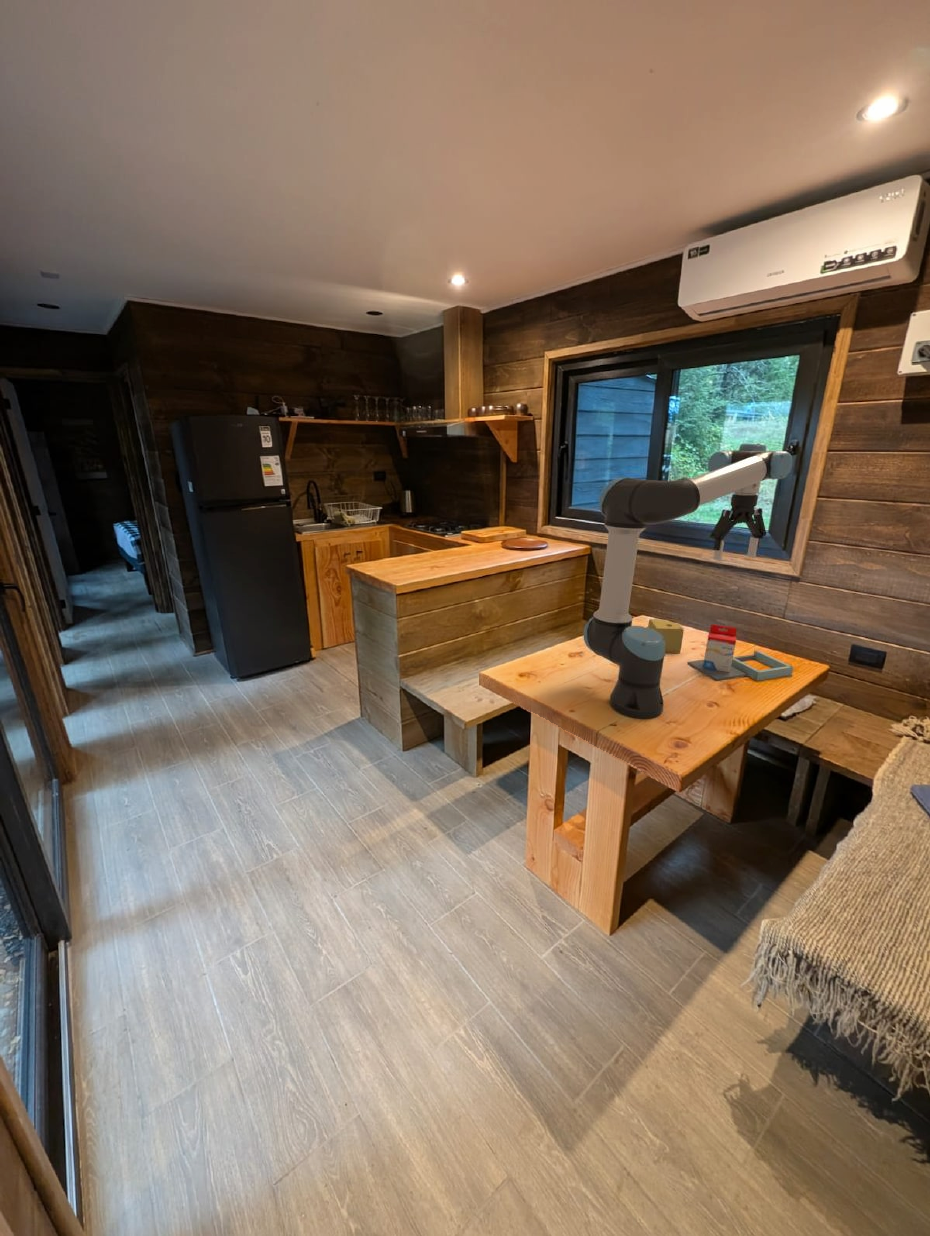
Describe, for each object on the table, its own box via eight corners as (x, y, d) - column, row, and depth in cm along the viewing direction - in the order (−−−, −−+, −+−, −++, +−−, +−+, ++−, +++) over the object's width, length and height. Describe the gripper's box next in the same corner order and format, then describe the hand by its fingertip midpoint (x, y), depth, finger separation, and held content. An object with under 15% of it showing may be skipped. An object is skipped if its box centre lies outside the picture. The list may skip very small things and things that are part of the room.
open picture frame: (757, 680, 165) (758, 672, 164) (722, 662, 178) (724, 654, 177) (791, 675, 168) (793, 667, 167) (755, 657, 182) (757, 650, 181)
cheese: (673, 643, 196) (676, 619, 193) (681, 654, 186) (685, 629, 183) (645, 642, 197) (648, 618, 194) (652, 653, 187) (655, 628, 184)
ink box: (702, 668, 172) (709, 628, 167) (703, 662, 176) (710, 623, 171) (730, 673, 168) (737, 632, 164) (730, 667, 173) (738, 627, 168)
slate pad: (716, 680, 165) (716, 678, 164) (687, 663, 177) (687, 661, 177) (746, 676, 168) (746, 674, 168) (715, 659, 181) (716, 657, 180)
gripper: (721, 496, 155) (710, 563, 162) (786, 493, 161) (773, 558, 168) (704, 494, 162) (695, 558, 169) (767, 491, 168) (756, 553, 175)
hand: (734, 558), depth 169 cm, fingers open, 13 cm apart
